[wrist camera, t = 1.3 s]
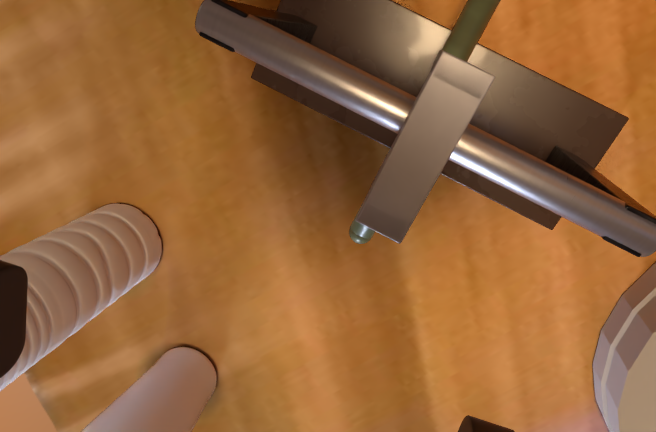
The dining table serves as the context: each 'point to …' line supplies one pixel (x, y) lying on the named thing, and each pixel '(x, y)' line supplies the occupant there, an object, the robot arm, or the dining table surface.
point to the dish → (629, 360)
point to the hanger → (428, 131)
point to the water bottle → (80, 275)
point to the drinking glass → (162, 396)
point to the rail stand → (404, 86)
